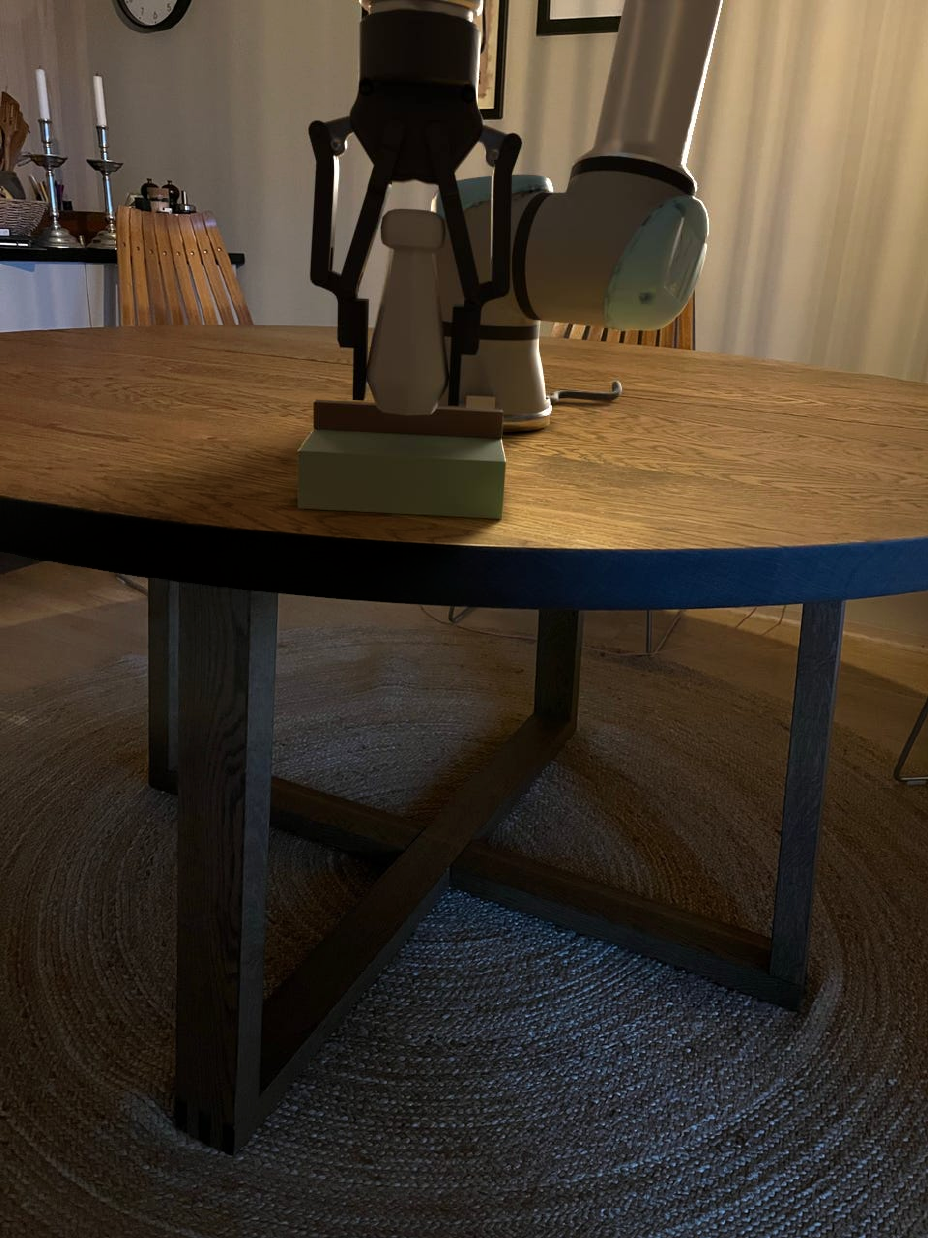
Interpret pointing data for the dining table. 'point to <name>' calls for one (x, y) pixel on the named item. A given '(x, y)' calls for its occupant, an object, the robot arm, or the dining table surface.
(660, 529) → the dining table surface
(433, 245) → the salt shaker
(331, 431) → the spice shelf
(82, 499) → the dining table surface
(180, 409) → the dining table surface
